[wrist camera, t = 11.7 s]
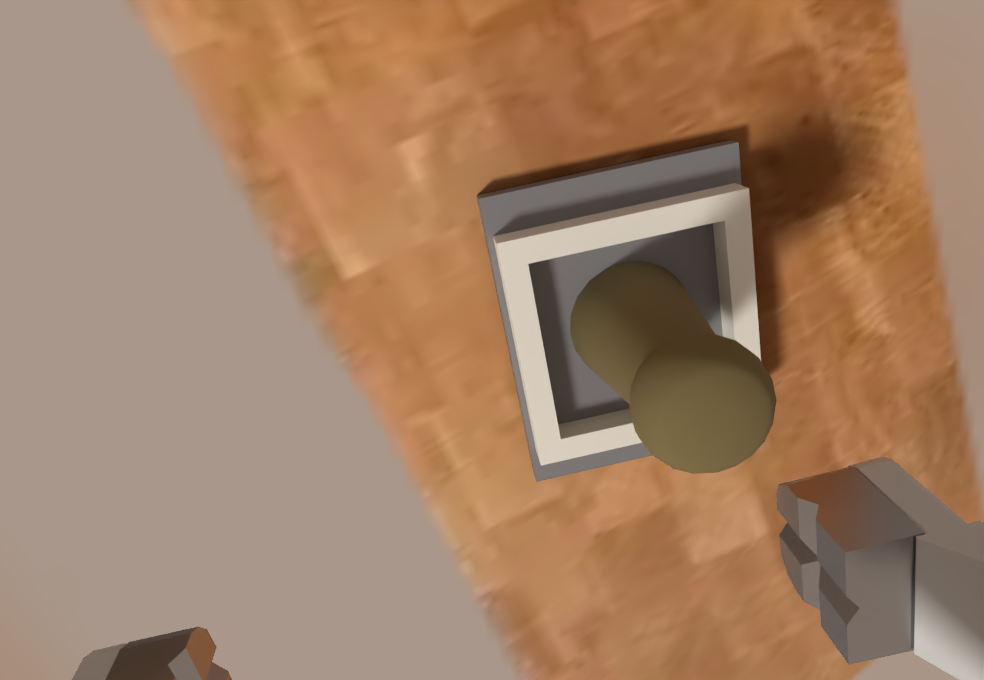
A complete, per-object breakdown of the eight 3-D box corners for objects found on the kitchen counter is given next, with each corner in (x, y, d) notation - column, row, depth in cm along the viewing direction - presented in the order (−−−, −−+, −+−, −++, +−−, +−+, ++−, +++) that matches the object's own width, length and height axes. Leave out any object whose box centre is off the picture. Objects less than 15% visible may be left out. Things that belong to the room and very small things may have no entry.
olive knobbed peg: (687, 250, 35) (803, 327, 24) (695, 366, 37) (804, 482, 27) (562, 273, 34) (626, 361, 24) (577, 389, 37) (641, 515, 26)
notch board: (476, 195, 34) (481, 204, 31) (729, 140, 34) (752, 145, 32) (533, 471, 39) (541, 497, 37) (751, 422, 39) (772, 444, 37)
